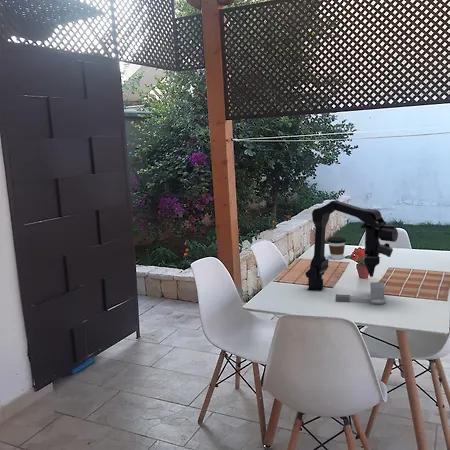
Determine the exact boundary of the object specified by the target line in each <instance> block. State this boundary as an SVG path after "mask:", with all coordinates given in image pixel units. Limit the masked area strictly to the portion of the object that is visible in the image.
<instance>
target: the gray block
mask: <svg viewBox="0 0 450 450" xmlns="http://www.w3.org/2000/svg"><path fill="white" fill-rule="evenodd" d="M369 284H370V285H369V286H370V287H369V288H370V292H369V294H370V295H369V296H370V298H371V299H372V300H384V297H385V282H381V281H379V282H376V281H370V283H369Z"/></svg>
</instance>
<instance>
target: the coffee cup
mask: <svg viewBox="0 0 450 450" xmlns="http://www.w3.org/2000/svg"><path fill="white" fill-rule="evenodd" d="M346 242H347V240H346V238H344V237H339V236H338V237H337V236H334V237H329V238H328V239H327V243H328V246H329V247H328V248H329V253H330V258H331V260H334V261H335V260H336V261H339V260H343V258H344V252H345V246H346Z"/></svg>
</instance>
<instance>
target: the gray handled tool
mask: <svg viewBox="0 0 450 450" xmlns="http://www.w3.org/2000/svg"><path fill="white" fill-rule="evenodd" d="M335 302H338V303H364V304H365V303H366V304H368V303H369V304H371V305H375V306H376V305H377V306H378V305H379V306H380V305H385V304H386V302H387V298H386V296H384V300H372V299H371V298H370V295H369V296H364V295H363V296H360V295H350V294H338V293H337V294H335Z"/></svg>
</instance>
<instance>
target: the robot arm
mask: <svg viewBox="0 0 450 450" xmlns="http://www.w3.org/2000/svg"><path fill="white" fill-rule="evenodd" d="M335 211H336V212H339V213H342V214H346V215H348V216H352V217H354V218H357V219H359V220H360V221H361V222H363V224H362V225H360V229H365V233H364V234H365V235H364V236H365V237H364V257H363V263H364V265H365V268H366V270H367V272H368V275H369V277H370V278H373V277H374V273H375V270H376V266H378V265H380V263H381V259H380V256H379V255H380V254H381V255H384V256H386V257H388V258H390V257H391V255H392V253H393V251H394V250H393V248H392V247H390V243H387V242H393V243H395V242H396V241H397V240H398V237H399V232H398V229H397V225H396V224H394V225H393V224H391V225H390V224H389V225H388V224H387V222H386V221H385V220H384V217H382V213H381V211H380V210H378V209H374V208H361V207H358V206H355V205H352V204H348V203H346V202H343V201H340V200H338V199H337V200H336V199H335V200H332V201H330V202H328V203H326V204H325V205H323V206H320V207H316V208H314V209H313V210H312V212H311V218H312V222H313V225H314V227H315V228H314V249H313V257H312V260H311V262H310V263H309V264H310V266H309V269H308V270H307V271H306V272H304V273H305V277H306V278H308V289H307V291H322V290H323V288H324V278H323V276H325V272H326V271H327V270H328V268H329V258H328V259H327V258H326V256H325V249H326V248H325V247H326V228H327V225H328V222H329V220H330V217H331V214H332V213H334V212H335ZM380 240H381V241H384V242H385V243H384V244H381V241H380Z"/></svg>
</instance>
